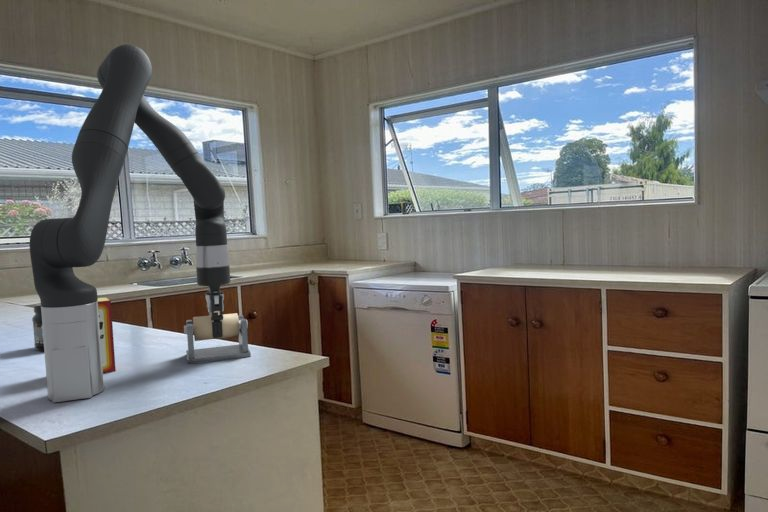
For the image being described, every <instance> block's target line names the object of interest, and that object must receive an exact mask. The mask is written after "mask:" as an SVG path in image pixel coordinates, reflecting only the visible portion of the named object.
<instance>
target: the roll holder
mask: <svg viewBox="0 0 768 512" xmlns="http://www.w3.org/2000/svg"><path fill="white" fill-rule="evenodd" d="M238 319H239V320H240V323H241V329H239V336H238V344H233V345H232V344H231V345H224V346H223V345H222V346H214V347H205V348H197V349H196V348H195V344H194V342H195V340H194V333H193V319H187V320H186V325H187V334H186V337H187V339H186V340H187V350H186V361H187V363H186V364H187V365H192V364H199V363H208V362H209V363H210V362H218V361H224V360H226V361H227V360H233V359H241V358H248V357H251V356H252V355H251V354H252V353H251V351H250V349H249V341H248V339H249V338H248V328H247V322H248V319H246V318H244V315H243V314H240V315H239V314H238Z"/></svg>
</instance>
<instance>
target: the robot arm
mask: <svg viewBox="0 0 768 512" xmlns="http://www.w3.org/2000/svg"><path fill="white" fill-rule="evenodd" d="M152 76H153V67H152V63H151V59H150V58H149V56H148V55H147V53H146V52H145V51H144V50H143V49H142V48H140V47H139V46H136V45H133V44H129V43H128V44H120V45H118V46H116V47H114V48H112V50H110V51H109V52H108V54H107V55H106V56H105V58H104V59H103V61H102V62H101V63H100V65H99V67H98V69H97V73H96V78H97V81H98V83H99V85H100V86H101V88H102V90H101V92H100V95H99V96H98V98H97V100H96V101H95V102H94V104H93V105H92V108H91V109H90V111H89V112H88V114H87V116H86V117H85V120H84V121H83V123H82V125H81V127H80V129H79V132H78V134H77V138H76V140H75V143H74V146H73V148H72V149H73V150H72V153H71V164H72V168H73V170H74V173H75V176H76V178H77V181H78V183H79V186H80V191H81V192H80V193H81V196H80V201H79V204H78V207H77V210H76V213H75V214H74V216H73V217H59V218H47V219H42V220H39V221H38V222H37V223H35V225H34V226H33V228H32V230H31V232H30V236H29V255H30V263H31V270H32V277H33V284H34V288H35V291H36V294H37V295H38V297H39V299H40V301H39V302H40V303H41V313H42V327H43V340H44V351H43V353H44V363H45V375H46V387H47V388H46V389H47V398H48V400H49V401H52V403H60V402H67V401H68V402H69V401H75V400H82V399H89V398H92V397H93V396H96V395H97V394H100V393H101V392H103V391H104V389H105V387H104V385H105V383H104V373H103V369H102V356H101V342H100V328H99V313H98V298H99V297H98V291H97V288H96V287H95V286H94V285H92V284H90V283H87V282H85V281H83V280H81V279H80V278H79V277H78V276H77V275H76V273H74V269H73V268H86V267H90V266H92V265H94V264H96V263H97V262H98V260H99V259H100V257H101V255H102V254H103V251H104V247H105V244H106V240H107V234H108V227H109V222H110V216H111V212H112V205H113V202H114V198H115V193H116V190H117V186H118V182H119V178H120V176H121V172H122V169H123V166H124V164H125V161H126V157H127V153H128V150H129V147H130V146H129V145H130V141H131V138H132V135H133V131H134V126H135V125H136V126H137V127H138V128H139V130H141V131H142V132H143V133H144V134H145V135H146V137H147V138H148V139H149V141H150V142H151V143H152V144H153V145H154V147H155V148H156V149H157V150H158V152H159V153H160V155H161V156H162V158H163V159H164V160H165V162H166V163H167V164H168V166H169V167H170V169H171V170H172V171H173V173H174V174H175V175H176V176H177V177H178V178H180V181H182V183H183V184H184V187H186V189H187V190H188V192H189V193H190V195H191V197H192V198H193V207H194V216H195V218H194V219H195V229H194V230H195V232H194V233H195V269H196V271H195V272H196V284H197V286H200V287H208V289H207V292H205V300H206V309H207V312H208V316H211V322H212V334H213V338H219V339H222V338H221V337H222V336H223V332H222V320H223V314H224V311H225V309H224V308H225V306H224V299H225V293H224V292H223V291H221V286H225V285H228V284H230V283H231V271H230V255H229V254H230V253H229V249H228V248H229V247H228V237H227V235H228V233H227V226H226V223H225V204H224V203H225V202H224V201H225V199H226V191H225V189H224V186H223V184H222V183H221V182H220V181H219V179H218V178H217V176H216V175H215V174H214V172H213V171H212V170H211V169H210V168H209V167H208V166H207V164H206V163H205V162H204V160H203V159H202V157H201V155H200V153H199V152H198V150H197V149H196V148H195V146H194V145H193V143H192V141H190V139H189V138H188V136H187V135H186V134H185V133H184V132H183V131H182V130H181V129H180V128H179V127H177V126H176V125H175V124H173V122H171V121H169V120H168V119H166V118H164V116H162V115H161V114H159V113H158V112H157V111H156V110H155V109H154V108H153V107H152V105H151V104H150V103H149V102H148V100H147V99H146V97H145V95H144V93H145V91H146V90H147V87H148V85H149V84H150V82H151V80H152Z"/></svg>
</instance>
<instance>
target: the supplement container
mask: <svg viewBox="0 0 768 512" xmlns="http://www.w3.org/2000/svg"><path fill="white" fill-rule="evenodd" d="M33 313H34V315H33V316H32V319H31V321H32V328H33V329H32V330H33V338H34V339H33V340H34V341H33V342H34V344H33V345H34V348H35V350H37V351H39V352H44V340H43V327H42V313H41V302H39V303H35V304H34V305H33Z"/></svg>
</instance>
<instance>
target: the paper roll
mask: <svg viewBox="0 0 768 512" xmlns="http://www.w3.org/2000/svg"><path fill="white" fill-rule="evenodd" d="M238 315H239V314H238V313H237V312H235V313H225V314H224V313H223V320H222V332H223V336H222V337H221V338H213V334H212V322H211V316H209V315H203V316H193V317H192V325H193V340H194V342H197V341H198V342H200V341H208V340H217V339H225V338H236V337H238V338H239V329H241V323H240V320H239V319H238ZM248 324H249V323H248V321H247V329H248V328H249V326H248ZM183 335H187V324H186V325H183Z"/></svg>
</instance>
